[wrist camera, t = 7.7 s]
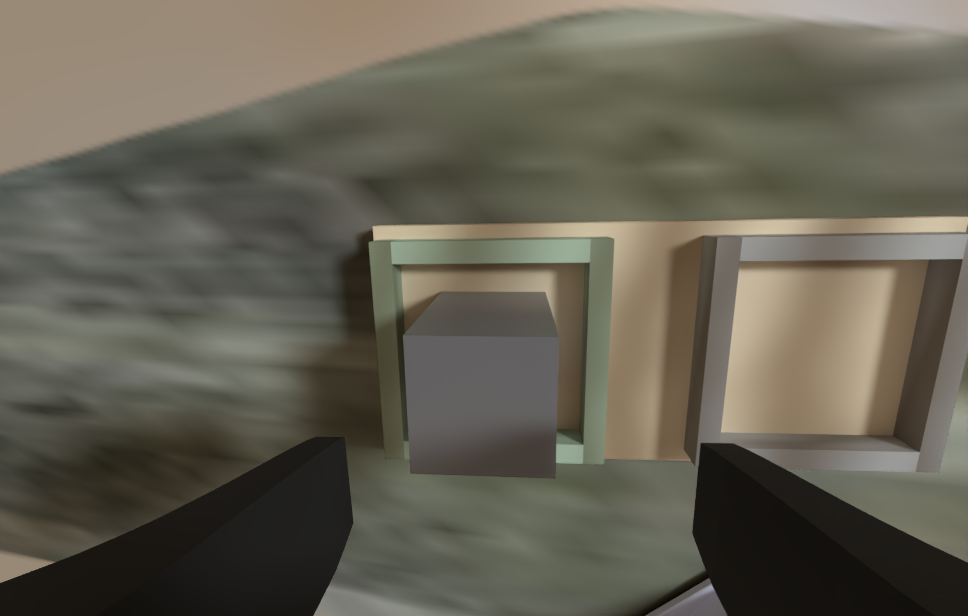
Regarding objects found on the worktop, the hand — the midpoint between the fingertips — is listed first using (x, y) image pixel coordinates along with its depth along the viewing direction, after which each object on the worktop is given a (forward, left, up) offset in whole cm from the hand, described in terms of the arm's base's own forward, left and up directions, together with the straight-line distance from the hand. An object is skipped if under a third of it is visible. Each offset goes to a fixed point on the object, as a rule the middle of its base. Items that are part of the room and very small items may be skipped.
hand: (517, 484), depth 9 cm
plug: (-1, +1, -9) cm, 9 cm away
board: (+4, -3, -10) cm, 11 cm away
